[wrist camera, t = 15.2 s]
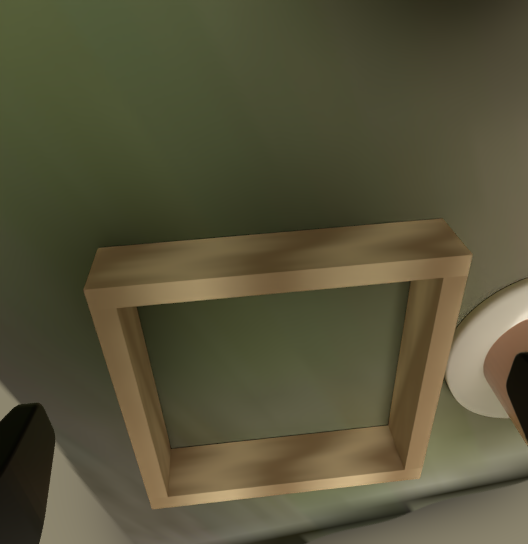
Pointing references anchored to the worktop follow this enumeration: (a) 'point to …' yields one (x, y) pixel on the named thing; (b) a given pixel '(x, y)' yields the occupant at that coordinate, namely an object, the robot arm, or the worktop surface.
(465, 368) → the ceramic saucer
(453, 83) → the worktop surface
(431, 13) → the worktop surface
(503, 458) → the worktop surface
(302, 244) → the pine frame
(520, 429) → the terracotta pot
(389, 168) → the worktop surface
